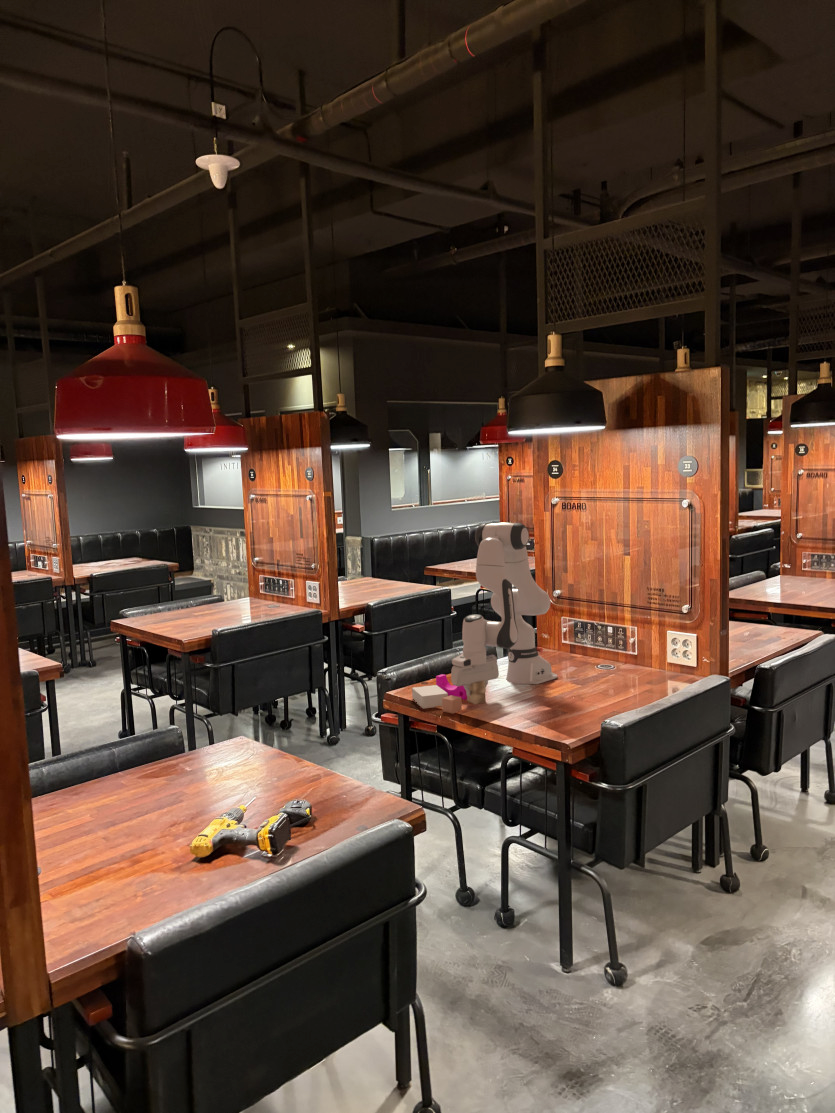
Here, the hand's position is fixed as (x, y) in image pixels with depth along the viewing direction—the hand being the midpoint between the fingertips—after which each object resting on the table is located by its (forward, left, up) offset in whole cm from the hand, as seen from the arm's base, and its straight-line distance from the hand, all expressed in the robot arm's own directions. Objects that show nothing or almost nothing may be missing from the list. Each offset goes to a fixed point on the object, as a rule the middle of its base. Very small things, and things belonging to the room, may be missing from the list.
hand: (476, 693), depth 305 cm
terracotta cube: (+14, +4, -3) cm, 15 cm away
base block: (+14, -11, -4) cm, 18 cm away
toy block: (0, -13, -4) cm, 14 cm away
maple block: (0, 0, -3) cm, 3 cm away
